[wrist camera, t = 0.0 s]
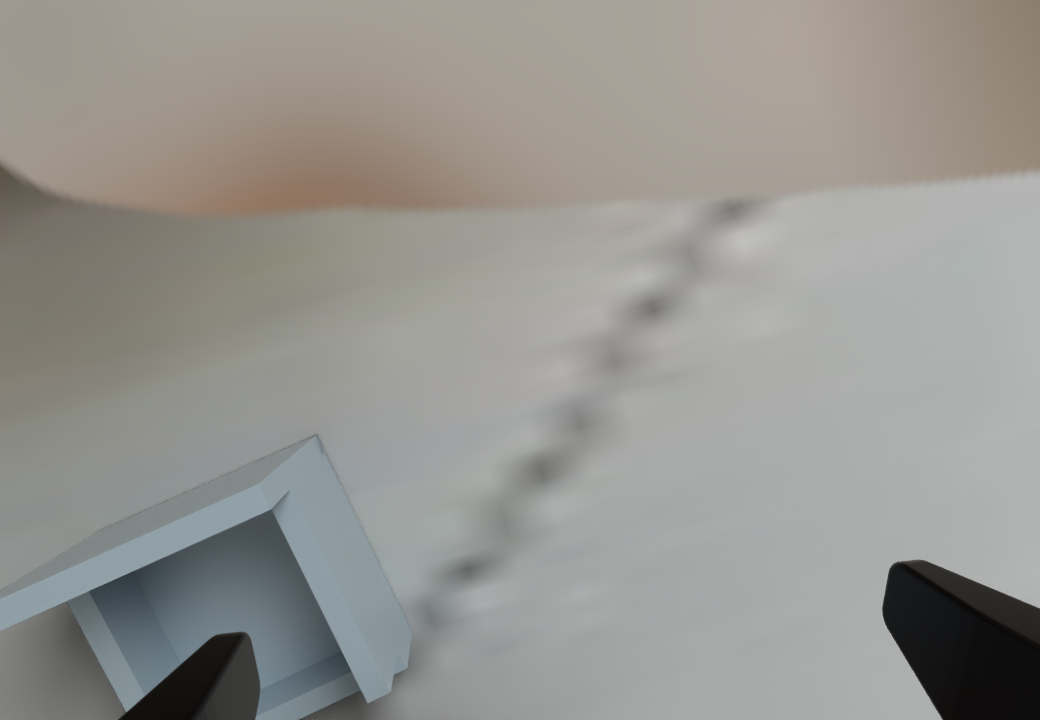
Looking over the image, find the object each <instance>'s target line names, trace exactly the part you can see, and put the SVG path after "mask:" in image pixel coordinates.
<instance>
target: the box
mask: <svg viewBox="0 0 1040 720" xmlns="http://www.w3.org/2000/svg"><path fill="white" fill-rule="evenodd" d="M63 602H67V604H68V606H69V607H70V609H71V611H72V613H73V615H74V617H75V618H76V620H77V622H78V624H79V626H80V628H81V630H82V631H83V633H84V635H85V637H86V639H87V641H88V642H89V644H90V646H91V648H92V650H93V652H94V654H95V655H96V657H97V659H98V661H99V663H100V665H101V666H102V668H103V670H104V672H105V674H106V676H107V678H108V679H109V681H110V683H111V685H112V687H113V689H114V690H115V692H116V694H117V696H118V698H119V700H120V701H121V703H122V705H123V707H124V709H125V711H126V712H127V711H128V710H129V709H130V708H132V707H133V706H134V705H135V704H136V703H137V702H138V701H140V700H141V699H142V698H143V697H144V696H145V695H146V694H147V693H149V692H150V691H151V690H152V689H153V688H154V687H155V686H157V685H158V684H159V683H160V682H161V681H162V680H163V679H164V678H166V677H167V676H168V675H169V674H170V673H171V672H172V671H174V670H175V669H176V668H177V667H178V666H179V665H180V664H181V663H183V662H184V661H185V660H186V659H187V658H188V657H189V656H191V655H192V654H193V653H194V652H195V651H196V650H197V649H198V648H200V647H201V646H202V645H203V644H204V643H205V642H206V641H208V640H209V639H210V638H211V637H213V636H214V635H217V634H222V633H231V632H241V631H243V632H246V633H248V634H249V636H250V638H251V641H252V645H253V650H254V655H255V659H256V664H257V669H258V673H259V678H260V698H259V704H258V709H257V714H256V719H255V720H299V719H301V718H303V717H305V716H307V715H310V714H312V713H314V712H316V711H318V710H320V709H322V708H324V707H327V706H329V705H331V704H333V703H335V702H337V701H339V700H341V699H344V698H346V697H348V696H350V695H352V694H354V693H356V692H358V691H360V690H361V691H362V693H363V695H364V697H365V699H366V701H367V703H370V702H372V701H374V700H376V699H379V698H381V697H383V696H385V695H387V694H389V693H391V687H392V681H393V676H394V674H396V673H399V672H401V671H403V670H405V669H407V666H408V659H409V652H410V645H411V638H412V631H411V629H410V627H409V624H408V622H407V620H406V618H405V616H404V614H403V612H402V610H401V608H400V606H399V604H398V601H397V599H396V597H395V595H394V593H393V591H392V589H391V587H390V585H389V583H388V581H387V579H386V576H385V574H384V572H383V570H382V568H381V566H380V564H379V562H378V560H377V558H376V556H375V554H374V551H373V549H372V547H371V545H370V543H369V541H368V539H367V537H366V535H365V533H364V531H363V529H362V526H361V524H360V522H359V520H358V518H357V516H356V514H355V512H354V510H353V508H352V506H351V503H350V501H349V499H348V497H347V495H346V493H345V491H344V489H343V487H342V485H341V483H340V481H339V478H338V476H337V474H336V472H335V470H334V468H333V466H332V464H331V462H330V460H329V458H328V456H327V453H326V451H325V449H324V447H323V445H322V443H321V441H320V439H319V437H318V435H317V434H316V435H314V436H312V437H310V438H307V439H305V440H303V441H301V442H298V443H296V444H294V445H291V446H289V447H287V448H285V449H282V450H280V451H278V452H276V453H273V454H271V455H269V456H267V457H264V458H262V459H260V460H258V461H255V462H253V463H251V464H249V465H246V466H244V467H242V468H240V469H237V470H235V471H233V472H230V473H228V474H226V475H224V476H221V477H219V478H217V479H215V480H212V481H210V482H208V483H206V484H203V485H201V486H199V487H197V488H194V489H192V490H190V491H188V492H185V493H183V494H181V495H179V496H176V497H174V498H172V499H169V500H167V501H165V502H163V503H160V504H158V505H156V506H154V507H151V508H149V509H147V510H145V511H142V512H140V513H138V514H136V515H133V516H131V517H129V518H127V519H124V520H122V521H120V522H117V523H115V524H113V525H111V526H108V527H106V528H104V529H102V530H99V531H98V532H96V533H94V534H93V535H91V536H89V537H88V538H86V539H84V540H83V541H81V542H79V543H78V544H76V545H74V546H73V547H71V548H69V549H68V550H66V551H64V552H63V553H61V554H59V555H58V556H56V557H54V558H53V559H51V560H49V561H48V562H46V563H44V564H43V565H41V566H39V567H38V568H36V569H34V570H33V571H31V572H29V573H28V574H26V575H24V576H23V577H21V578H19V579H18V580H16V581H14V582H13V583H11V584H9V585H8V586H6V587H4V588H3V589H1V590H0V631H1V630H3V629H5V628H8V627H10V626H12V625H14V624H17V623H19V622H21V621H23V620H26V619H28V618H30V617H32V616H34V615H37V614H39V613H41V612H43V611H46V610H48V609H50V608H52V607H55V606H57V605H59V604H61V603H63Z"/></svg>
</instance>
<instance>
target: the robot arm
mask: <svg viewBox="0 0 1040 720" xmlns="http://www.w3.org/2000/svg"><path fill="white" fill-rule="evenodd" d="M882 611H883V618H884V621H885V624H886V626H887V628H888V630H889V632H890V633H891V635H892V637H893V638H894V640H895V641H896V643H897V645H898V646H899V648H900V650H901V651H902V653H903V655H904V656H905V658H906V660H907V661H908V663H909V665H910V666H911V668H912V670H913V671H914V673H915V675H916V676H917V678H918V680H919V681H920V683H921V685H922V686H923V688H924V690H925V691H926V693H927V695H928V696H929V698H930V700H931V701H932V703H933V705H934V706H935V708H936V710H937V711H938V713H939V715H940V716H941V718H942V719H943V720H1040V608H1037V607H1035V606H1032V605H1030V604H1028V603H1025V602H1023V601H1021V600H1018V599H1016V598H1013V597H1011V596H1009V595H1006V594H1004V593H1001V592H999V591H997V590H994V589H992V588H989V587H987V586H985V585H982V584H980V583H977V582H975V581H973V580H970V579H968V578H965V577H963V576H961V575H958V574H956V573H954V572H951V571H949V570H946V569H944V568H942V567H939V566H937V565H934V564H932V563H930V562H927V561H924V560H911V561H901V562H896V563H894V564H893V565H892V566H891V568H890V570H889V573H888V579H887V585H886V590H885V596H884V601H883V607H882ZM259 698H260V678H259V673H258V669H257V664H256V659H255V655H254V650H253V645H252V641H251V638H250V636H249V634H248V633H246V632H243V631H241V632H231V633H222V634H217V635H214V636H213V637H211V638H210V639H209V640H208V641H206V642H205V643H204V644H203V645H202V646H201V647H200V648H198V649H197V650H196V651H195V652H194V653H193V654H192V655H191V656H189V657H188V658H187V659H186V660H185V661H184V662H183V663H181V664H180V665H179V666H178V667H177V668H176V669H175V670H174V671H172V672H171V673H170V674H169V675H168V676H167V677H166V678H164V679H163V680H162V681H161V682H160V683H159V684H158V685H157V686H155V687H154V688H153V689H152V690H151V691H150V692H149V693H147V694H146V695H145V696H144V697H143V698H142V699H141V700H140V701H138V702H137V703H136V704H135V705H134V706H133V707H132V708H130V709H129V710H128V711H127V712H126V713H125V714H124V715H123V716H121V717H120V718H119V719H118V720H255V719H256V714H257V709H258V704H259Z"/></svg>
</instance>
